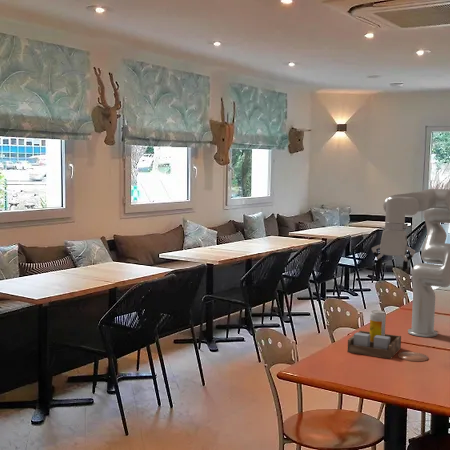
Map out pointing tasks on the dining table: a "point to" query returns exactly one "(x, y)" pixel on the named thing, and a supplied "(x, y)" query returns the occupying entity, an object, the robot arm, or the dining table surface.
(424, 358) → the coaster
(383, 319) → the beer can
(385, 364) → the dining table surface
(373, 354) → the rack
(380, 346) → the offcut
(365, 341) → the offcut
